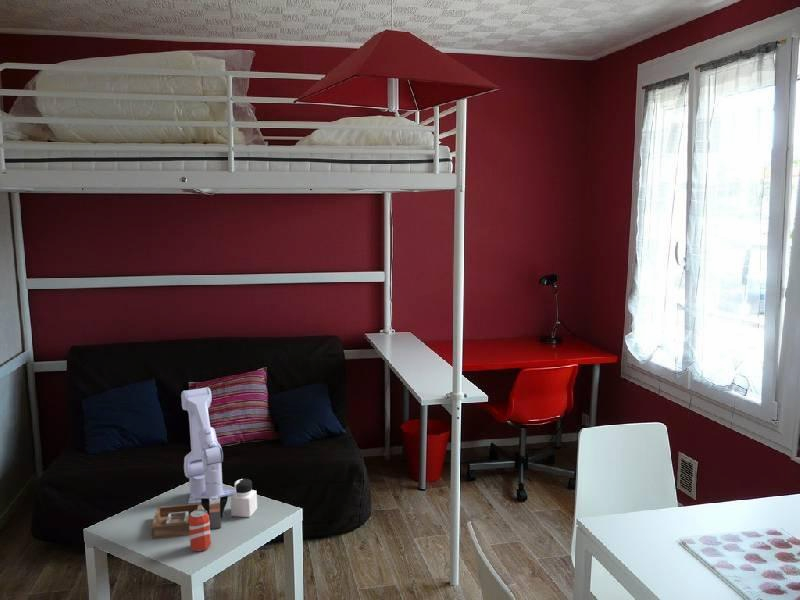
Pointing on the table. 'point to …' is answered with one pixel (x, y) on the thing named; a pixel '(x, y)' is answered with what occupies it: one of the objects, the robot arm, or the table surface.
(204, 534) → the beverage can
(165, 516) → the walled box
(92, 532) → the table surface
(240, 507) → the medicine bottle
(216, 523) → the rectangular block
